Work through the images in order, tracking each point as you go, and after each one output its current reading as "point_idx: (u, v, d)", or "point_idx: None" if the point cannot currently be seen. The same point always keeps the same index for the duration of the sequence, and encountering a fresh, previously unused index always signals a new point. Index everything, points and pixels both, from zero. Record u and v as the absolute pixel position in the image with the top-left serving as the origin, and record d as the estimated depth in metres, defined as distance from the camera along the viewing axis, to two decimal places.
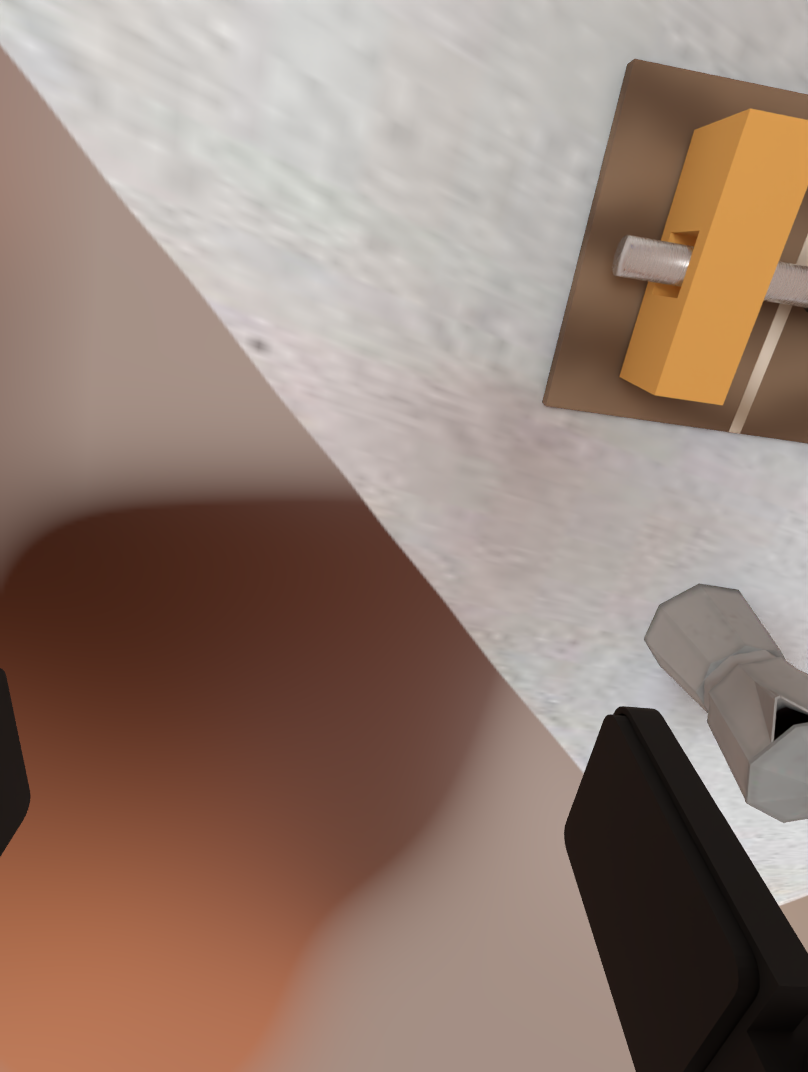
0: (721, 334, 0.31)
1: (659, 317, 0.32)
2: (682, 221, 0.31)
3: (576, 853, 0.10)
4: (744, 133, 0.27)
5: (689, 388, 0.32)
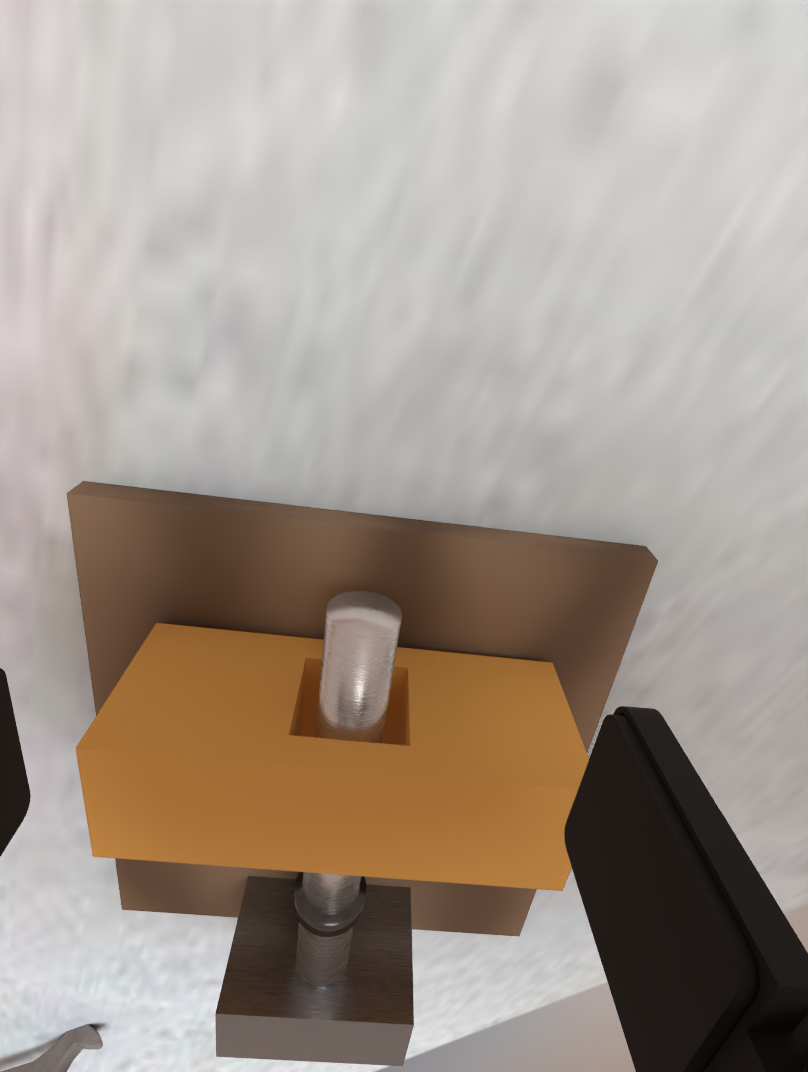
0: (226, 828, 0.15)
1: (258, 695, 0.16)
2: (425, 690, 0.17)
3: (576, 853, 0.10)
4: (565, 793, 0.15)
5: (109, 802, 0.15)
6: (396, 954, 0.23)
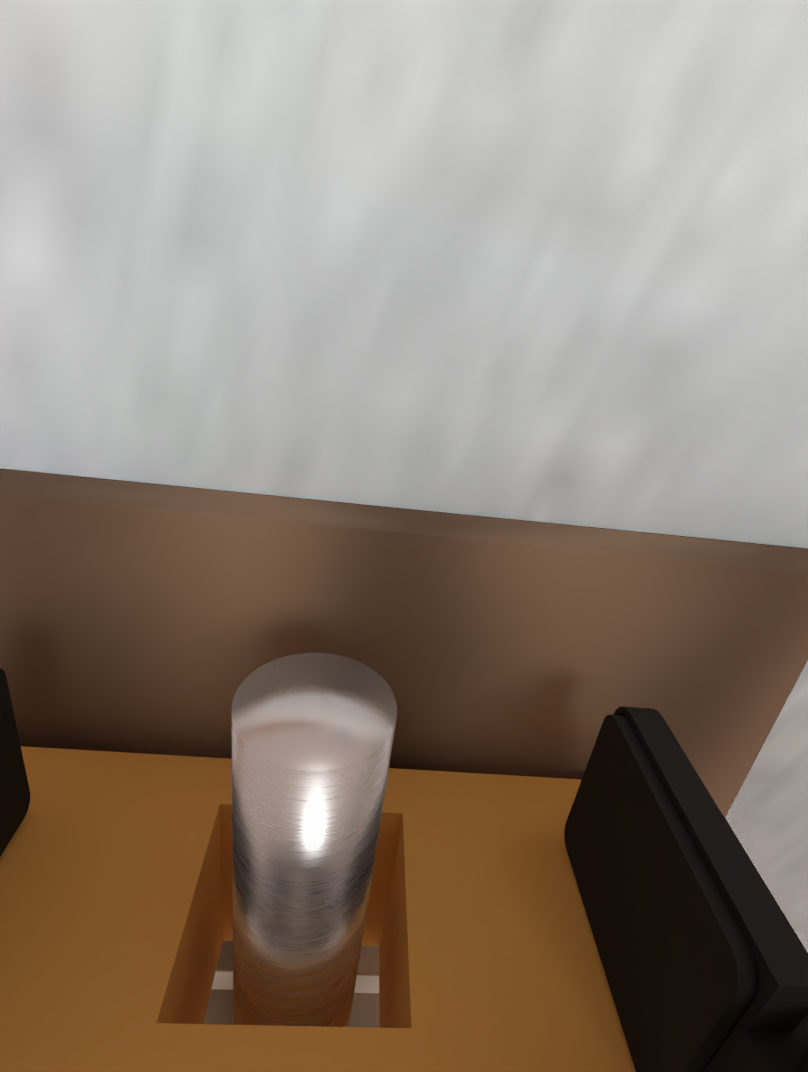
0: None
1: (112, 907, 0.08)
2: (434, 867, 0.10)
3: (576, 853, 0.10)
4: None
5: None
6: None
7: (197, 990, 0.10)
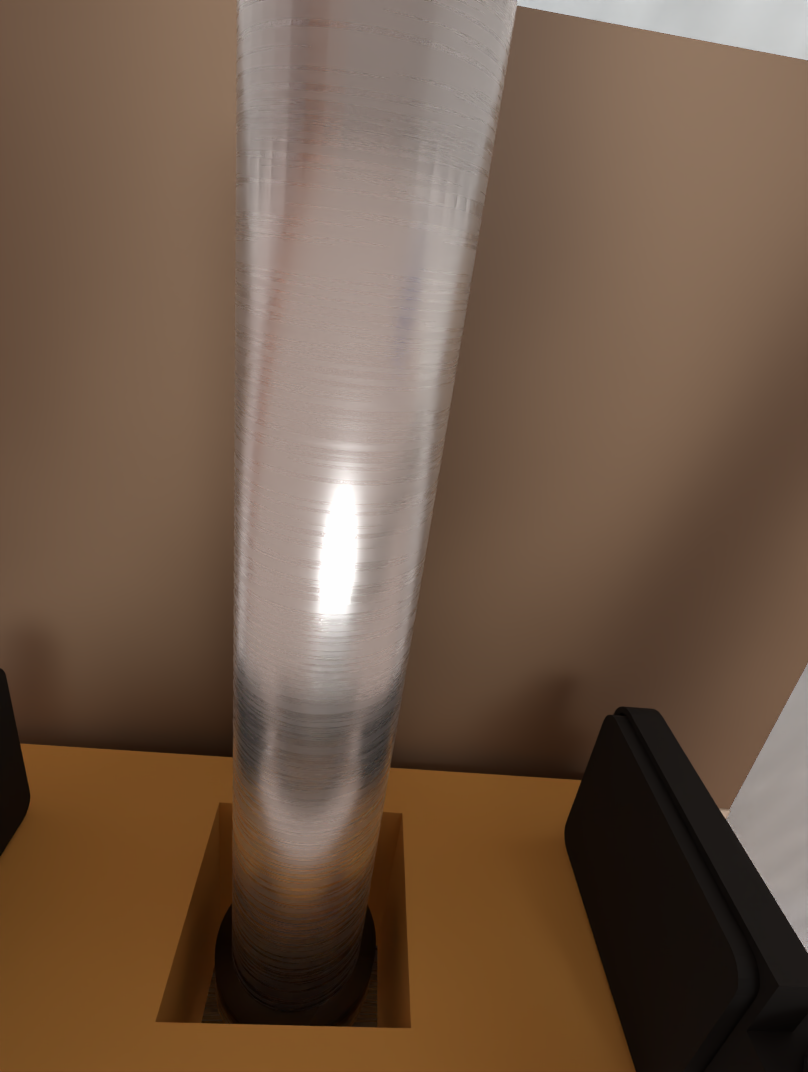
0: None
1: (111, 906, 0.08)
2: (434, 867, 0.10)
3: (576, 853, 0.10)
4: None
5: None
6: None
7: (195, 989, 0.10)
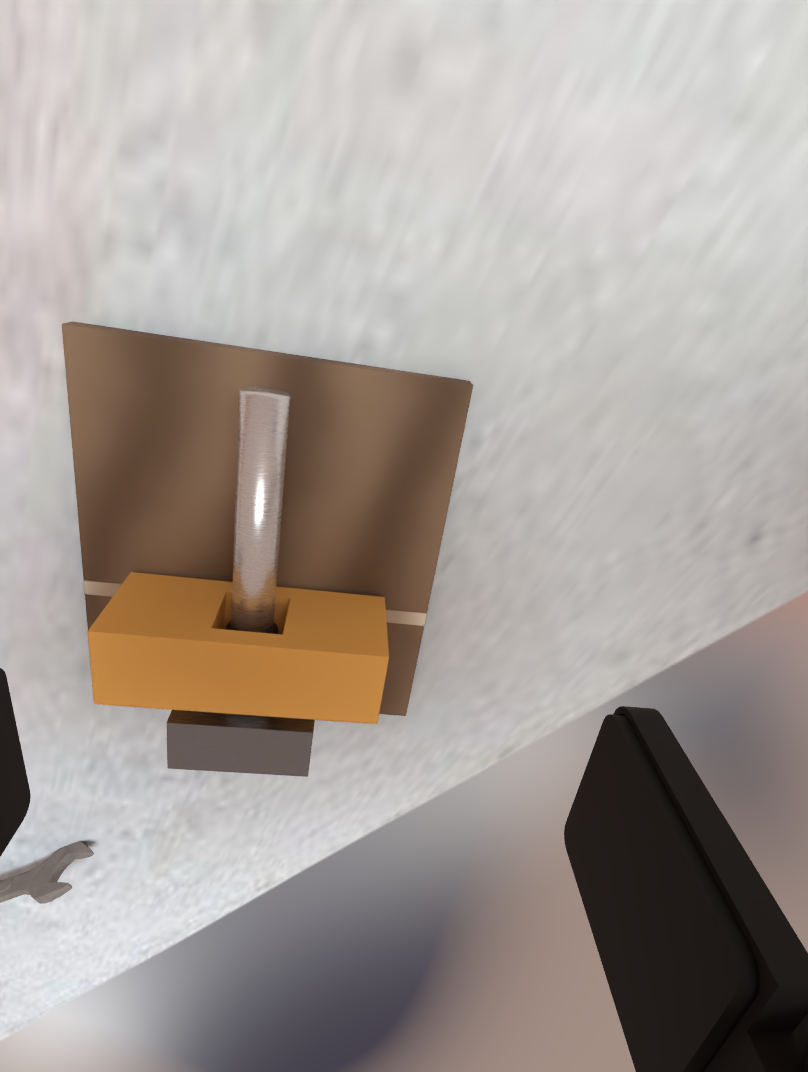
0: (174, 683, 0.26)
1: (194, 609, 0.27)
2: (298, 609, 0.29)
3: (576, 853, 0.10)
4: (368, 657, 0.26)
5: (105, 666, 0.26)
6: None
7: None
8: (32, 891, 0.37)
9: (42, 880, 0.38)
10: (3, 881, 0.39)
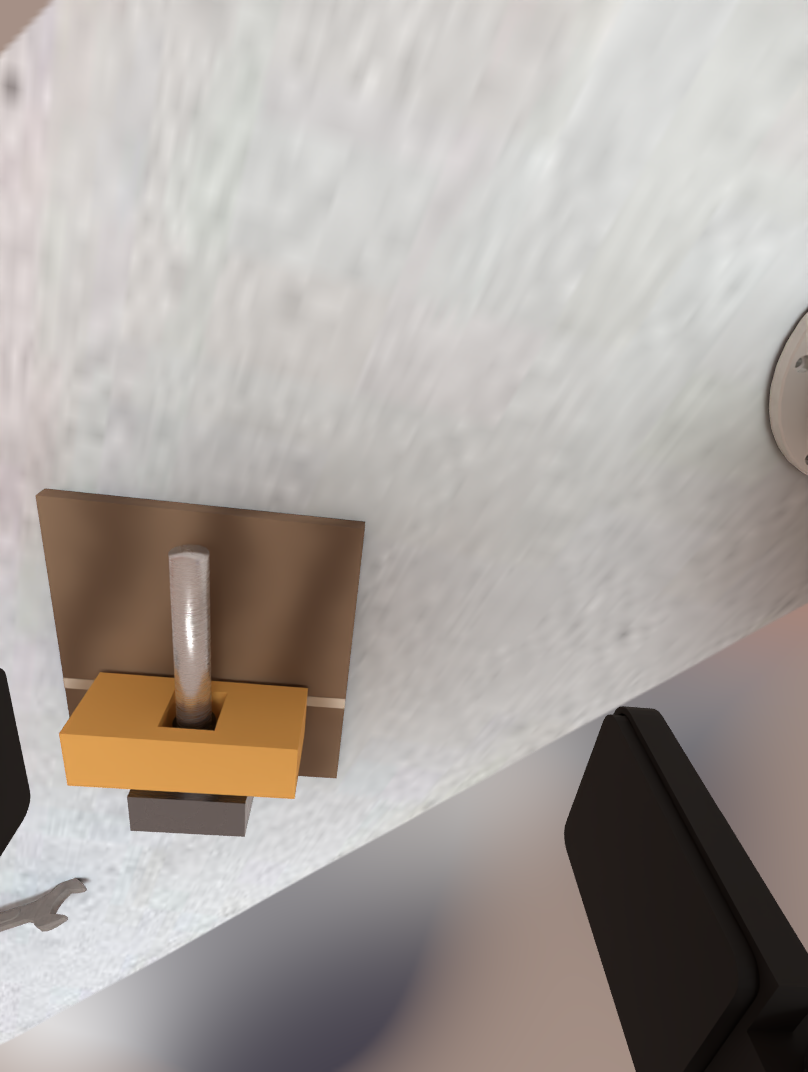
0: (129, 770, 0.33)
1: (146, 708, 0.34)
2: (231, 704, 0.36)
3: (576, 853, 0.10)
4: (281, 750, 0.33)
5: (74, 758, 0.33)
6: None
7: None
8: (35, 921, 0.45)
9: (44, 911, 0.45)
10: (13, 910, 0.47)
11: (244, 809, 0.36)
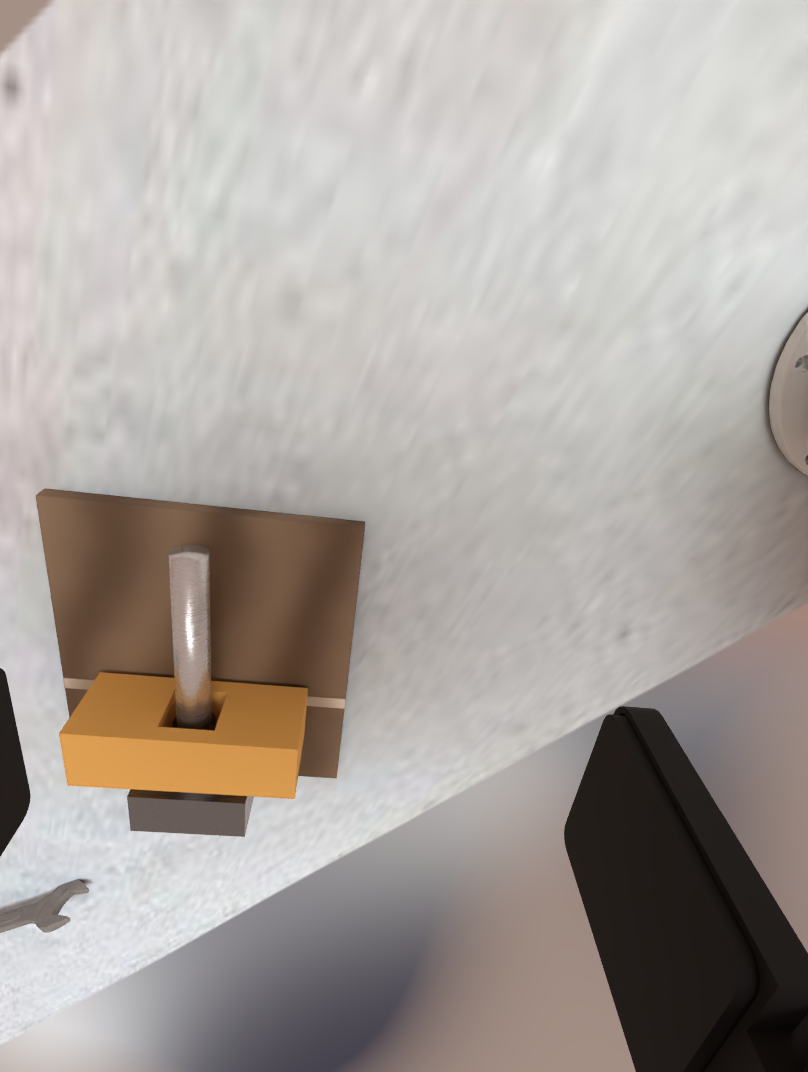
0: (129, 770, 0.33)
1: (146, 708, 0.34)
2: (231, 704, 0.36)
3: (576, 853, 0.10)
4: (281, 750, 0.33)
5: (74, 758, 0.33)
6: None
7: None
8: (38, 922, 0.45)
9: (46, 912, 0.46)
10: (14, 910, 0.47)
11: (244, 809, 0.36)
